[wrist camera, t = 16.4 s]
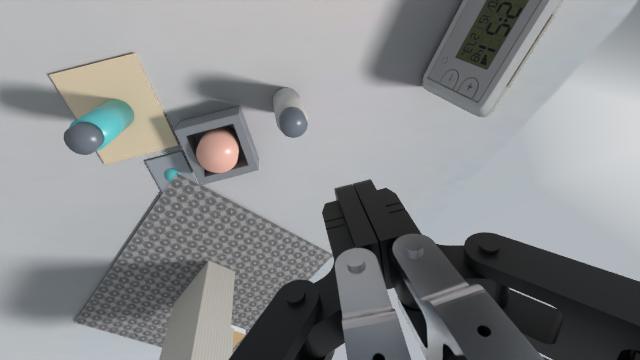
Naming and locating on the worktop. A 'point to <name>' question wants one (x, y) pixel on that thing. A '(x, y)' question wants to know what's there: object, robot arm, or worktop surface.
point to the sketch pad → (124, 84)
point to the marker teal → (99, 127)
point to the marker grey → (290, 112)
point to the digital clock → (487, 50)
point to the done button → (218, 149)
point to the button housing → (195, 127)
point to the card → (169, 168)
